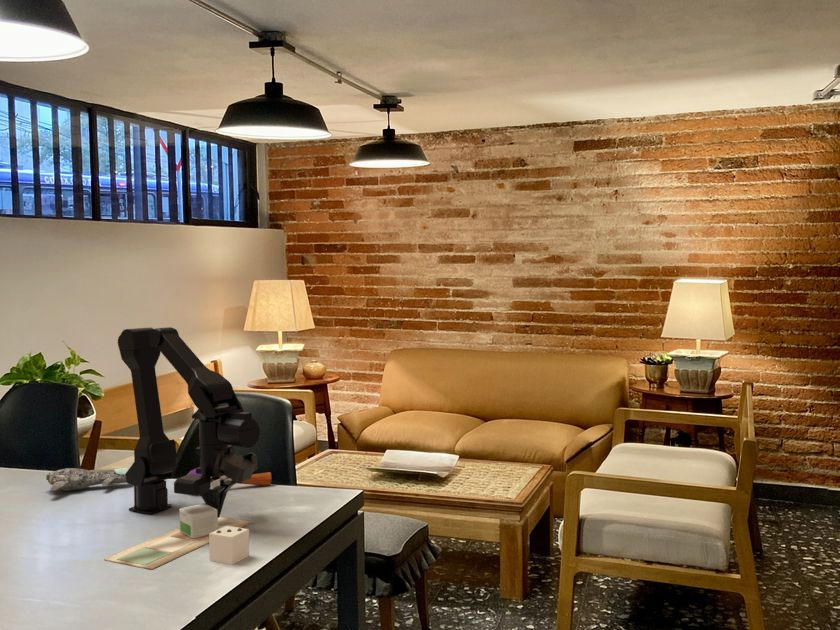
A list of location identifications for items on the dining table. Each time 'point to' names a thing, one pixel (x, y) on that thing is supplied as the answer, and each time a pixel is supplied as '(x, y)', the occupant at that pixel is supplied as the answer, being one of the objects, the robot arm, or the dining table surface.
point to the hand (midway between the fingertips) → (216, 517)
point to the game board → (167, 547)
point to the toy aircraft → (84, 478)
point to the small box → (198, 520)
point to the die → (228, 544)
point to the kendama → (256, 479)
